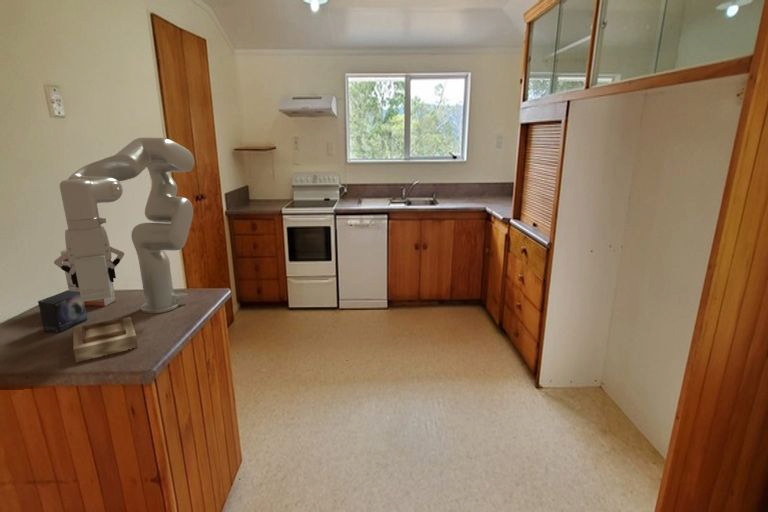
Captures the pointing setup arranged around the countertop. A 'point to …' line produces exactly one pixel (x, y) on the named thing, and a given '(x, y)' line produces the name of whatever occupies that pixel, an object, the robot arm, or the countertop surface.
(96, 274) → the supplement box
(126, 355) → the countertop surface
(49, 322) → the small box
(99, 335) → the maple plinth
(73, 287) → the cracker box
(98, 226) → the robot arm
